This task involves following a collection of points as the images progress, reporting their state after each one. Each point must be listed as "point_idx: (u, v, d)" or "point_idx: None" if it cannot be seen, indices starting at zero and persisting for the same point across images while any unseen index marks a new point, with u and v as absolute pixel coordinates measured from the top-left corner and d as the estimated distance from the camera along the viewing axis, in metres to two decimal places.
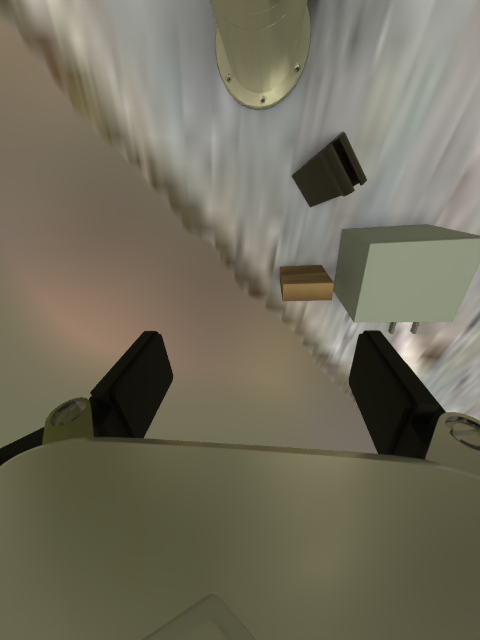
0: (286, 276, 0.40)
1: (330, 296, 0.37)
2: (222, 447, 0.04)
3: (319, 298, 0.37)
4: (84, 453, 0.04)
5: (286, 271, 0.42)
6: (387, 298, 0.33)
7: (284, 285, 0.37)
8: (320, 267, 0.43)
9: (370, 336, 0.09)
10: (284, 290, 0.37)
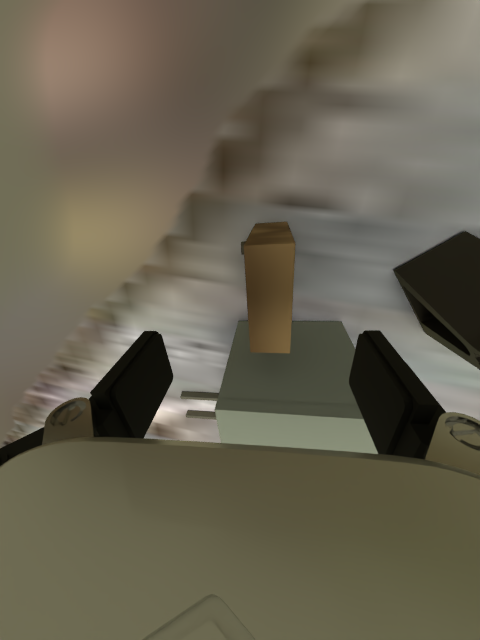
0: None
1: (258, 349, 0.17)
2: (222, 447, 0.04)
3: (253, 331, 0.16)
4: (84, 453, 0.04)
5: None
6: None
7: (291, 247, 0.13)
8: None
9: (370, 336, 0.09)
10: (276, 248, 0.13)
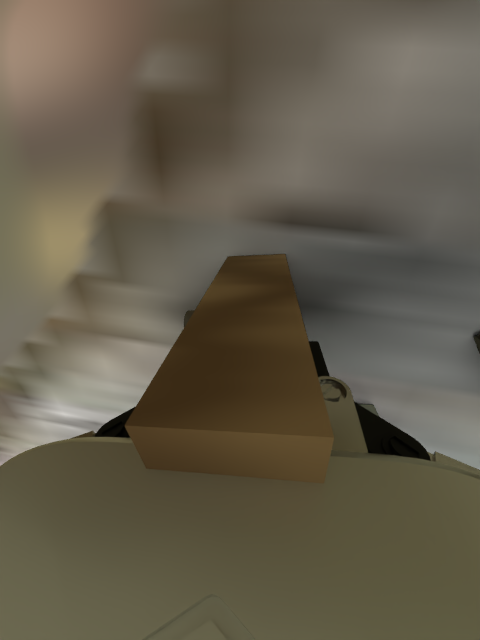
0: None
1: None
2: None
3: None
4: (84, 453, 0.04)
5: None
6: None
7: (316, 446, 0.03)
8: None
9: None
10: (253, 445, 0.03)
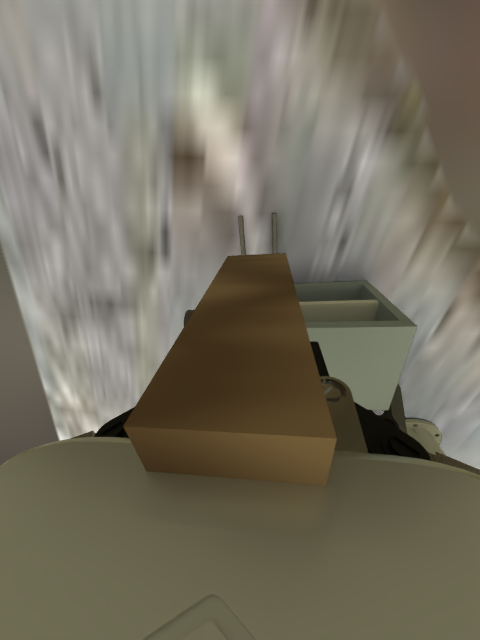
0: None
1: None
2: None
3: None
4: (84, 453, 0.04)
5: None
6: (365, 359, 0.24)
7: (318, 447, 0.03)
8: None
9: None
10: (254, 446, 0.03)
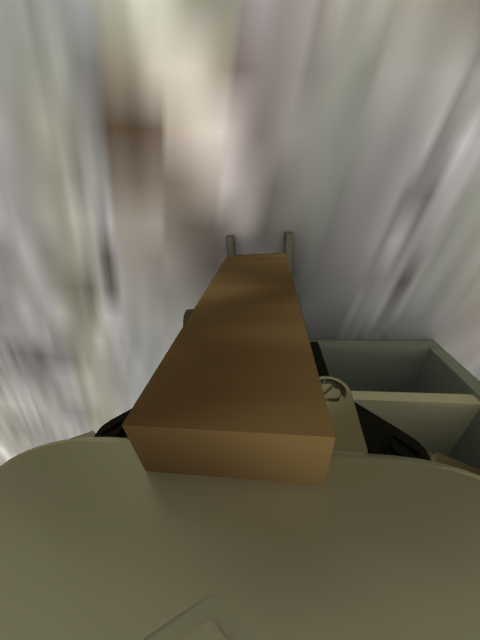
0: None
1: None
2: None
3: None
4: (84, 453, 0.04)
5: None
6: None
7: (317, 446, 0.03)
8: None
9: None
10: (253, 445, 0.03)
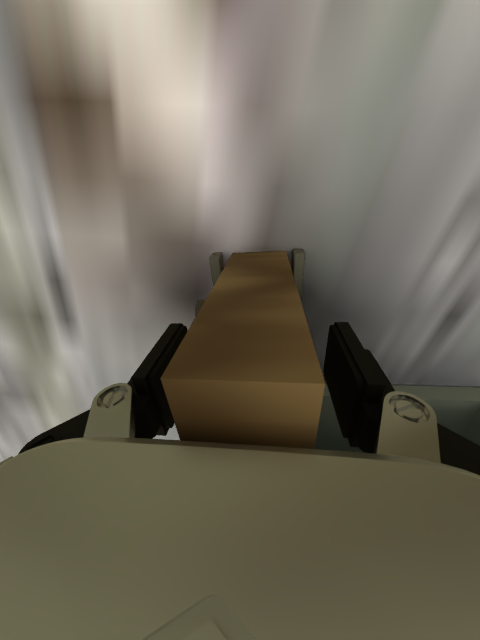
0: None
1: None
2: (222, 447, 0.04)
3: None
4: (84, 453, 0.04)
5: None
6: None
7: (311, 392, 0.04)
8: None
9: (338, 327, 0.10)
10: (262, 392, 0.04)
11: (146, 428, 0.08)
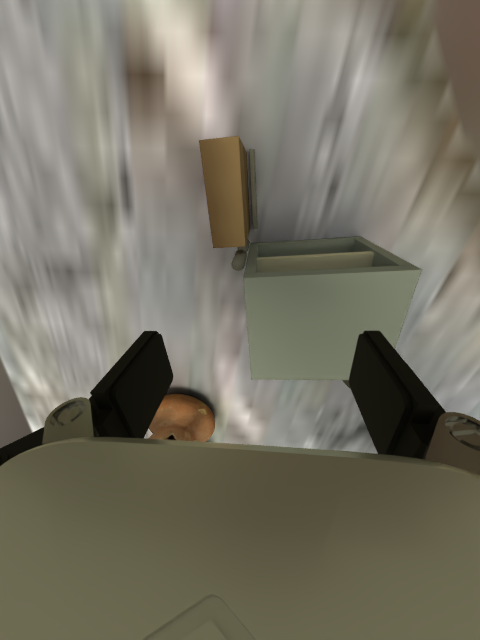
0: (243, 155, 0.20)
1: (219, 244, 0.21)
2: (222, 447, 0.04)
3: (214, 225, 0.20)
4: (84, 453, 0.04)
5: (245, 160, 0.23)
6: (357, 316, 0.20)
7: (236, 140, 0.17)
8: (249, 226, 0.28)
9: (370, 336, 0.09)
10: (224, 141, 0.17)
11: None
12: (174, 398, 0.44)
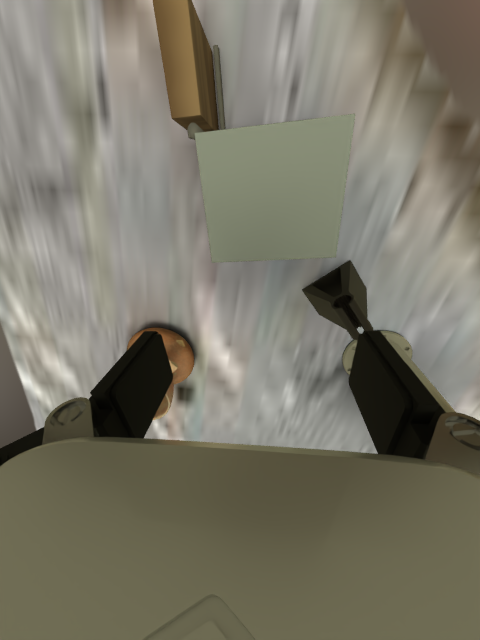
0: (199, 30, 0.22)
1: (177, 114, 0.23)
2: (222, 447, 0.04)
3: (170, 91, 0.22)
4: (84, 453, 0.04)
5: (206, 49, 0.25)
6: (303, 175, 0.21)
7: None
8: (216, 129, 0.29)
9: (370, 336, 0.09)
10: None
11: None
12: (153, 329, 0.45)
